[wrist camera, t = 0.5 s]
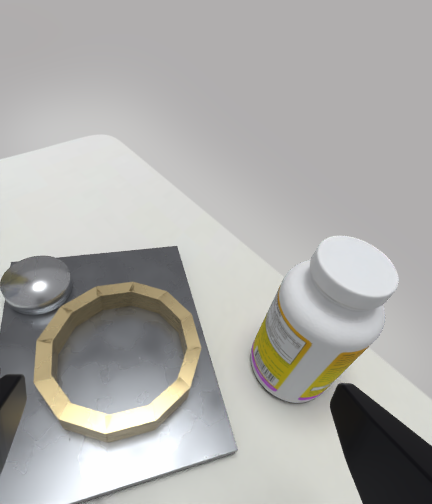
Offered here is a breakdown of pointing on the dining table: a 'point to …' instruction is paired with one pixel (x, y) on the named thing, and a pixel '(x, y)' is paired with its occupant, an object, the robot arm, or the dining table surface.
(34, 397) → the carrier plate
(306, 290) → the supplement bottle
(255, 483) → the dining table surface
